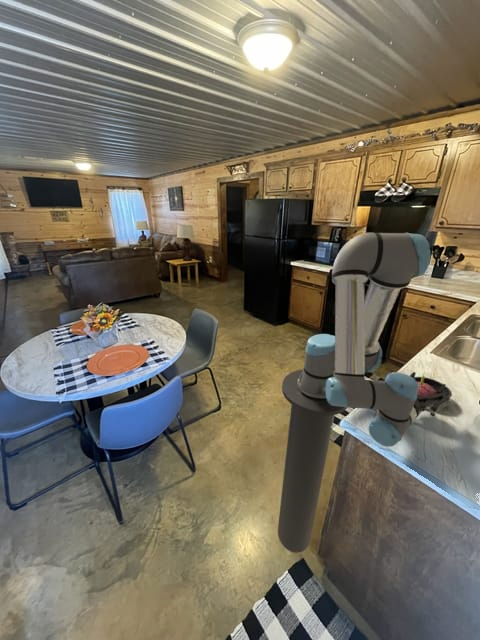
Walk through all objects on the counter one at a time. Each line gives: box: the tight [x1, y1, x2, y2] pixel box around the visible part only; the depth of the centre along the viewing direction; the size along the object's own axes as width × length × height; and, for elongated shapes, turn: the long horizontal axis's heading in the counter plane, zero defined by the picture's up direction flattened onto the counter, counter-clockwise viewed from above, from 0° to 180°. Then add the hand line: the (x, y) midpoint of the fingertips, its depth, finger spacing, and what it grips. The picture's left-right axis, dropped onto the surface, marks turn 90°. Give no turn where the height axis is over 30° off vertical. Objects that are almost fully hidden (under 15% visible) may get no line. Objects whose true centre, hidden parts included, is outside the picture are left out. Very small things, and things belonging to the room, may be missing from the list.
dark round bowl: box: [414, 376, 453, 409], centre depth 101 cm, size 13×13×5 cm
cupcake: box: [417, 373, 437, 396], centre depth 90 cm, size 9×8×12 cm
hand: (428, 381), depth 93 cm, fingers closed on cupcake, 8 cm apart
